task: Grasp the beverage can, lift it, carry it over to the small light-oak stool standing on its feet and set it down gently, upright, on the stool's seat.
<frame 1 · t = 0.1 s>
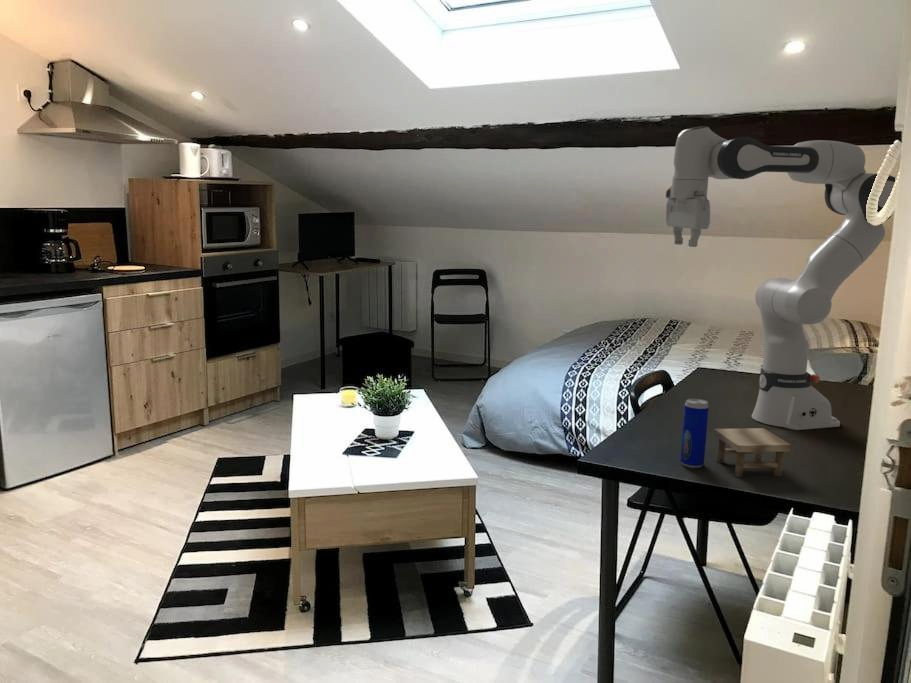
hand: (685, 245, 193), 48 cm above the table, fingers open, 8 cm apart
beverage can: (691, 465, 169), on the table
stool: (748, 468, 168), on the table
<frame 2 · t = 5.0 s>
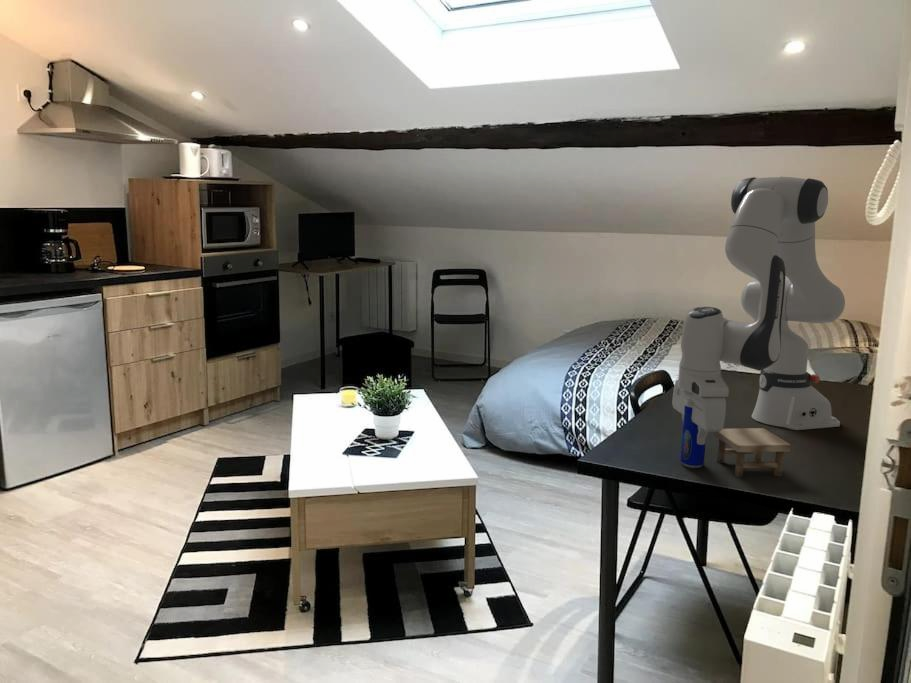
hand: (694, 439, 168), 6 cm above the table, fingers closed on beverage can, 5 cm apart
beverage can: (691, 465, 169), on the table, touching gripper
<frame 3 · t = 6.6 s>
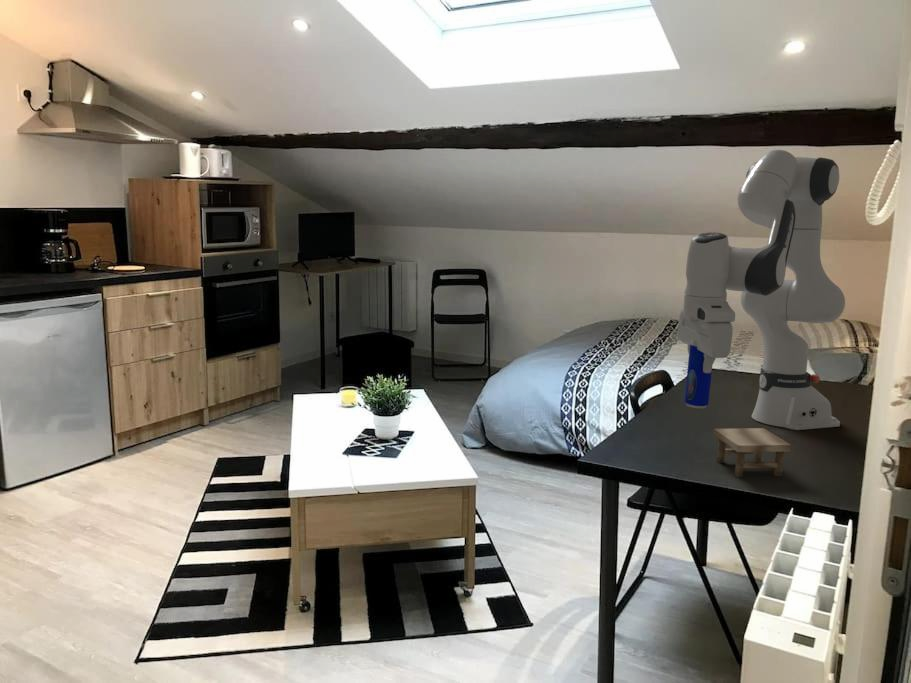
hand: (700, 368, 165), 22 cm above the table, fingers closed on beverage can, 5 cm apart
beverage can: (695, 406, 167), point 14 cm above the table, touching gripper
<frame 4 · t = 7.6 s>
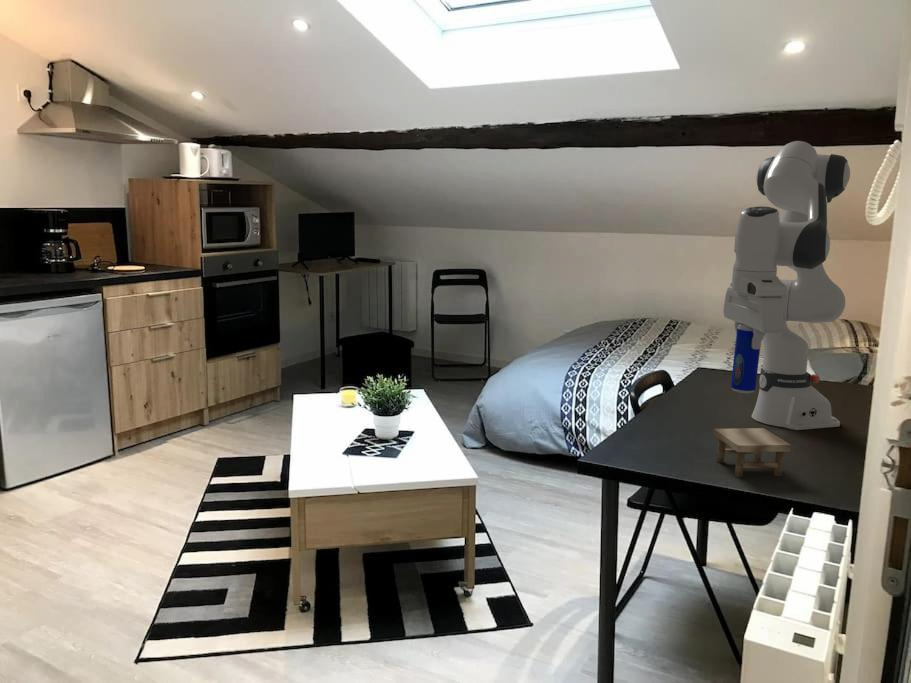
hand: (748, 345, 163), 28 cm above the table, fingers closed on beverage can, 5 cm apart
beverage can: (742, 391, 165), point 18 cm above the table, touching gripper
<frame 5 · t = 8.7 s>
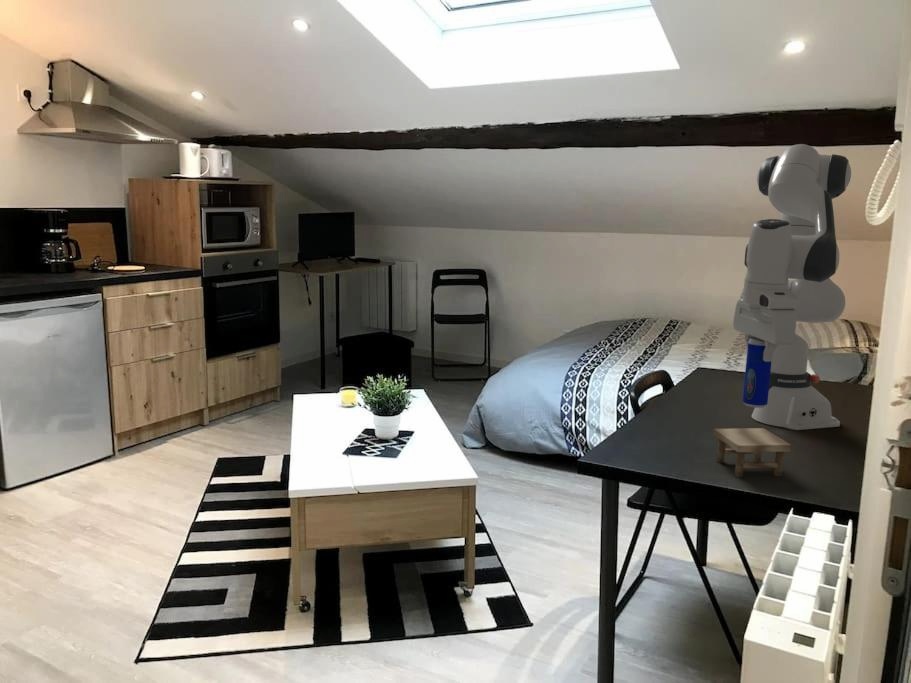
hand: (758, 357, 163), 26 cm above the table, fingers closed on beverage can, 5 cm apart
beverage can: (754, 405, 165), point 15 cm above the table, touching gripper
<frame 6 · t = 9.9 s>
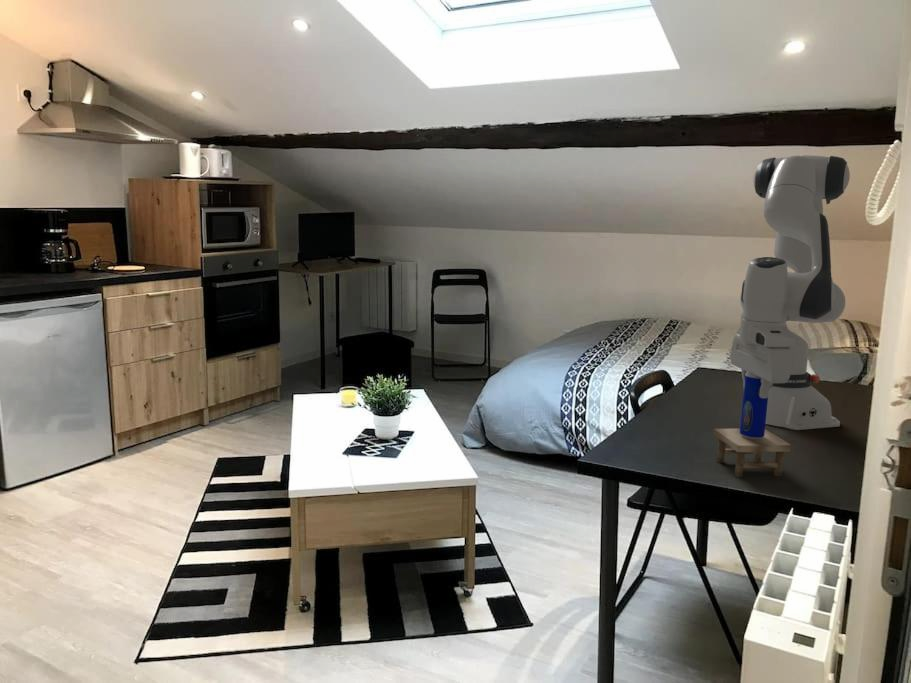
hand: (755, 393, 164), 17 cm above the table, fingers closed on beverage can, 5 cm apart
beverage can: (751, 437, 166), point 7 cm above the table, touching gripper, stool
when the fingers open (15 cm above the table, at t = 11.6 s): beverage can stays where it is, resting on stool.
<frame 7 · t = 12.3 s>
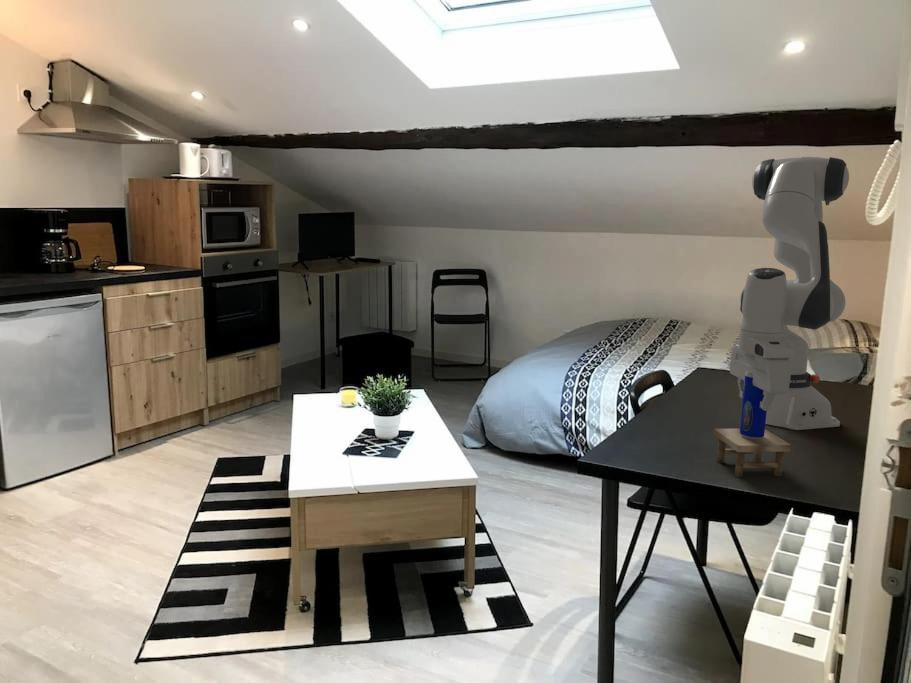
hand: (754, 403, 165), 15 cm above the table, fingers open, 8 cm apart
beverage can: (751, 437, 166), point 7 cm above the table, touching stool
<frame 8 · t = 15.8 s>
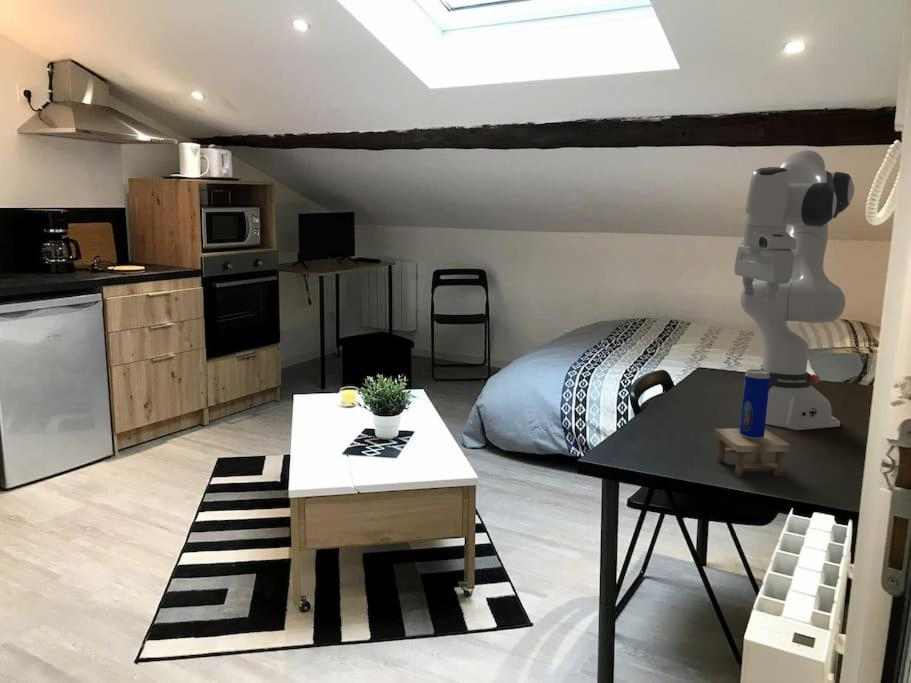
hand: (758, 298, 173), 37 cm above the table, fingers open, 8 cm apart
nothing on the table moved.
at the end: beverage can inside the target area on the stool (0.1 cm from its centre), point 7.3 cm above the stool's base; beverage can tilted 0°; the gripper is holding nothing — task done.
